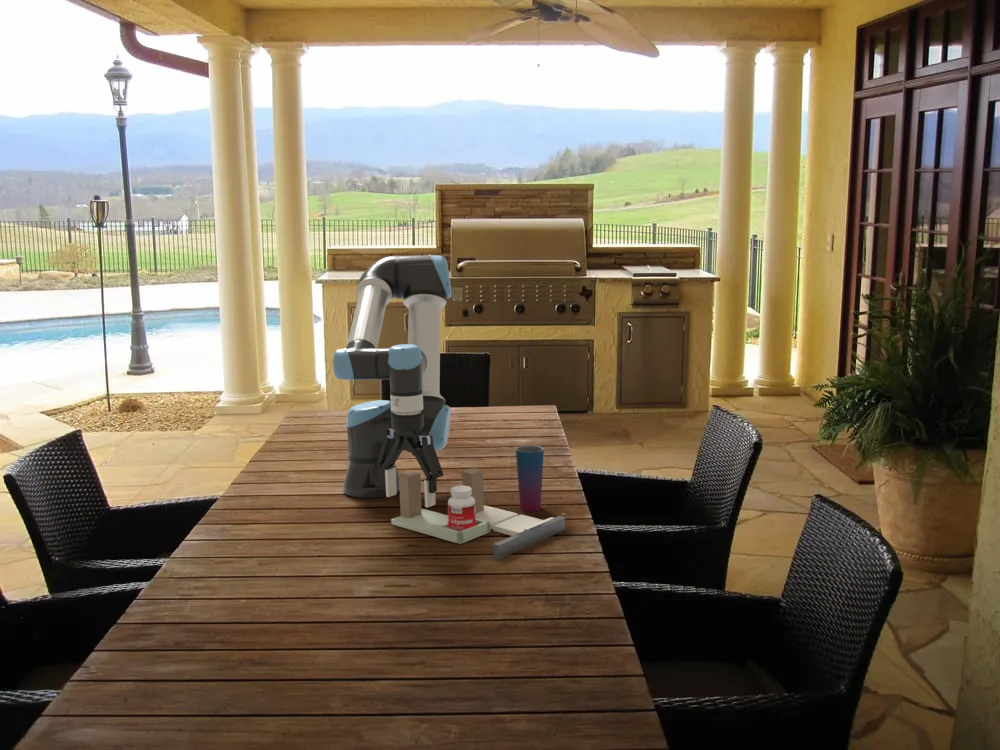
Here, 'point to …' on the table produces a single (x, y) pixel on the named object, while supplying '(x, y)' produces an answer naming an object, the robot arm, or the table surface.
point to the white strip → (518, 524)
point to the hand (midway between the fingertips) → (410, 500)
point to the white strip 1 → (483, 512)
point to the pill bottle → (461, 509)
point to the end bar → (528, 537)
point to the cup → (530, 476)
